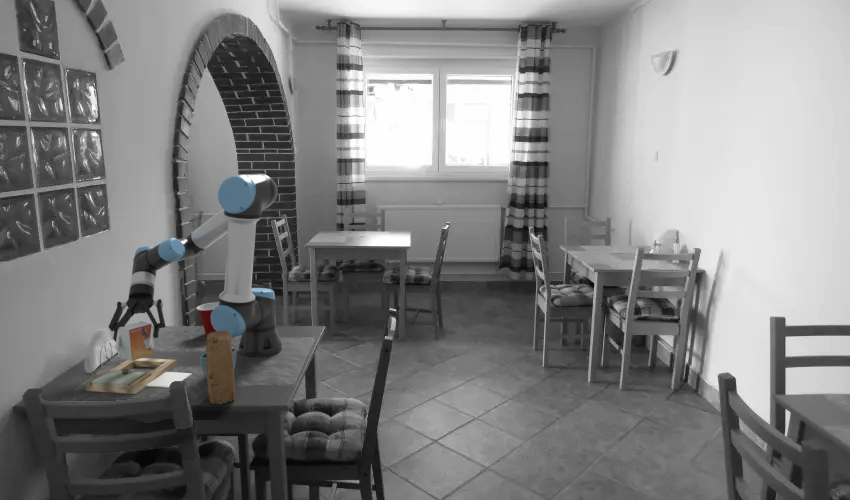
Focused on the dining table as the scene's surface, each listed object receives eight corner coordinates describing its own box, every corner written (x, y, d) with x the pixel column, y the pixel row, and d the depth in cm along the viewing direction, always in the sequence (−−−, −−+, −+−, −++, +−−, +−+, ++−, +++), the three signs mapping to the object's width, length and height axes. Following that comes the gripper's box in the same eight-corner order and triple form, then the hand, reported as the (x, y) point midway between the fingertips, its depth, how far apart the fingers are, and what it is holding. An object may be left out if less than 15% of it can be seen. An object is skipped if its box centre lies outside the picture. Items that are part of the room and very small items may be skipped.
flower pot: (212, 374, 190) (210, 347, 188) (238, 374, 189) (237, 348, 188) (201, 384, 181) (199, 357, 179) (229, 385, 181) (227, 358, 179)
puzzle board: (176, 365, 197) (175, 353, 196) (135, 393, 174) (133, 380, 173) (132, 363, 198) (131, 351, 198) (86, 390, 176) (84, 377, 175)
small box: (131, 361, 184) (128, 330, 182) (121, 358, 187) (118, 327, 185) (154, 354, 191) (151, 323, 189) (144, 351, 194) (141, 320, 192)
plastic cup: (206, 329, 235) (205, 300, 233) (232, 330, 234) (230, 301, 232) (192, 337, 225) (190, 307, 223) (219, 339, 223) (217, 309, 221)
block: (236, 404, 168) (232, 337, 164) (208, 407, 165) (204, 340, 162) (234, 389, 178) (231, 326, 174) (208, 392, 175) (204, 329, 172)
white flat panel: (191, 374, 189) (191, 373, 189) (173, 388, 178) (173, 387, 178) (166, 372, 190) (165, 371, 190) (146, 386, 179) (145, 385, 179)
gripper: (178, 291, 203) (173, 350, 190) (110, 295, 198) (100, 356, 186) (174, 280, 197) (169, 340, 184) (103, 284, 192) (93, 345, 180)
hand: (134, 348), depth 185 cm, fingers closed on small box, 9 cm apart
